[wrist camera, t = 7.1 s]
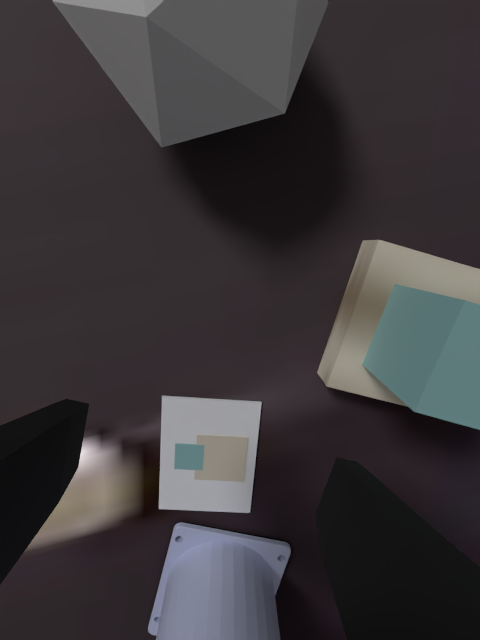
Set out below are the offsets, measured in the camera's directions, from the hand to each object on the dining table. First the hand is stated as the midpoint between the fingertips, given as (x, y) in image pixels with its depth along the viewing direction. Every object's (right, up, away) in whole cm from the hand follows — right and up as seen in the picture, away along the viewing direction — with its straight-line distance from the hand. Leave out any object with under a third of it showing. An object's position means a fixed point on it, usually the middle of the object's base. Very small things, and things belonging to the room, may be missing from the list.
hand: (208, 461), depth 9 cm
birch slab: (+10, +4, +10) cm, 15 cm away
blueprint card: (-1, -5, +11) cm, 12 cm away
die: (-1, +16, +7) cm, 18 cm away
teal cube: (+10, +3, +8) cm, 13 cm away
